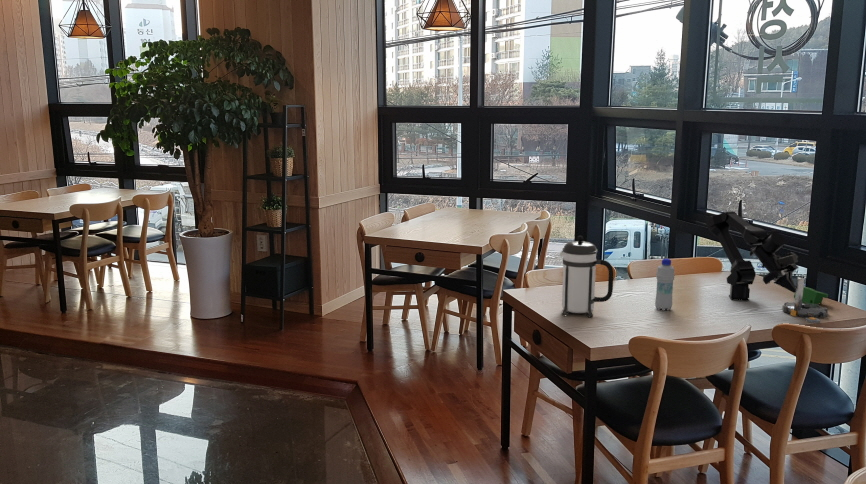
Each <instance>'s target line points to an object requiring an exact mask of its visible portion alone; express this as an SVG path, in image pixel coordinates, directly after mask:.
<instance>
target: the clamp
mask: <svg viewBox="0 0 866 484" xmlns="http://www.w3.org/2000/svg"><path fill="white" fill-rule="evenodd" d="M795 293H796V292H795ZM795 293H793V294H794V295H793V298H794V299H795ZM828 296H829V294H828V293H825V292H822V291H818V290H816V289H815V288H814V289H813V288H812V287H811V288H810V287H807V286H803V296H802V302H803V303H810V304H818V305H820V304H819V303H821V304H822V303H823V299H824V298H825V299H828Z"/></svg>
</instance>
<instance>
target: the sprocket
mask: <svg viewBox="0 0 866 484" xmlns="http://www.w3.org/2000/svg"><path fill="white" fill-rule="evenodd" d="M804 283H805V278H804V277H796V284H795V287H796V293H794V294H795V298H794V302H788V301H787V302H784V305H782V308H781V310H782V312H783V313H787V314H790V316H791V317H792V316H793V317H802V318H810V317H813V318H823V319H824V318H826V317H827V315H828V311H829V309H828V308H827V307H823V306H820V304H810V303H804V302H802V296H803V287H805V285H804Z"/></svg>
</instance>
